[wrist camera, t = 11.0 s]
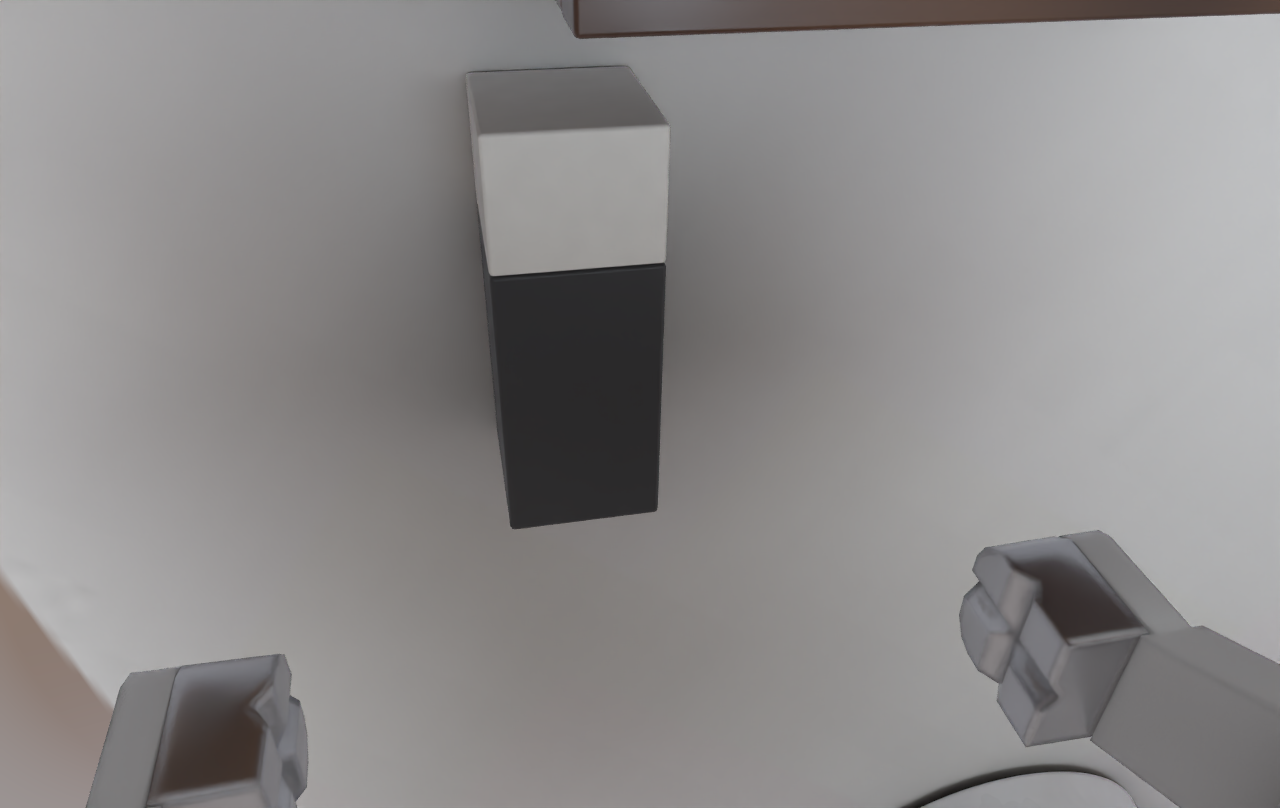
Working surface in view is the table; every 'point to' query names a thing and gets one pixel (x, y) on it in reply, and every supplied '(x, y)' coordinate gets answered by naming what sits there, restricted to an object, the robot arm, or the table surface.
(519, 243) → the black and white block
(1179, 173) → the table surface
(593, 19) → the cabinet
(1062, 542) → the robot arm
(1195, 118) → the table surface
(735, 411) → the table surface
